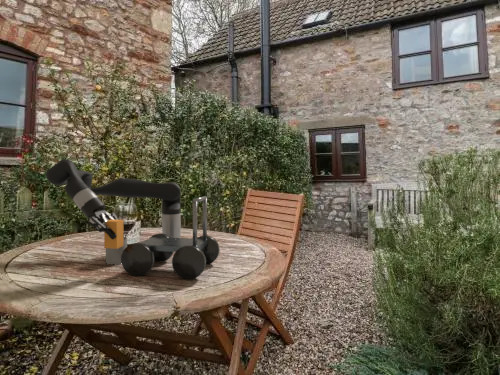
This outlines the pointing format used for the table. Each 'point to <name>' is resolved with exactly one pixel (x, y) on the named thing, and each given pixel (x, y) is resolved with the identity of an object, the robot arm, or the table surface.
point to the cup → (115, 254)
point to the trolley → (186, 251)
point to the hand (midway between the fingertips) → (118, 236)
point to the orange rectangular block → (119, 230)
